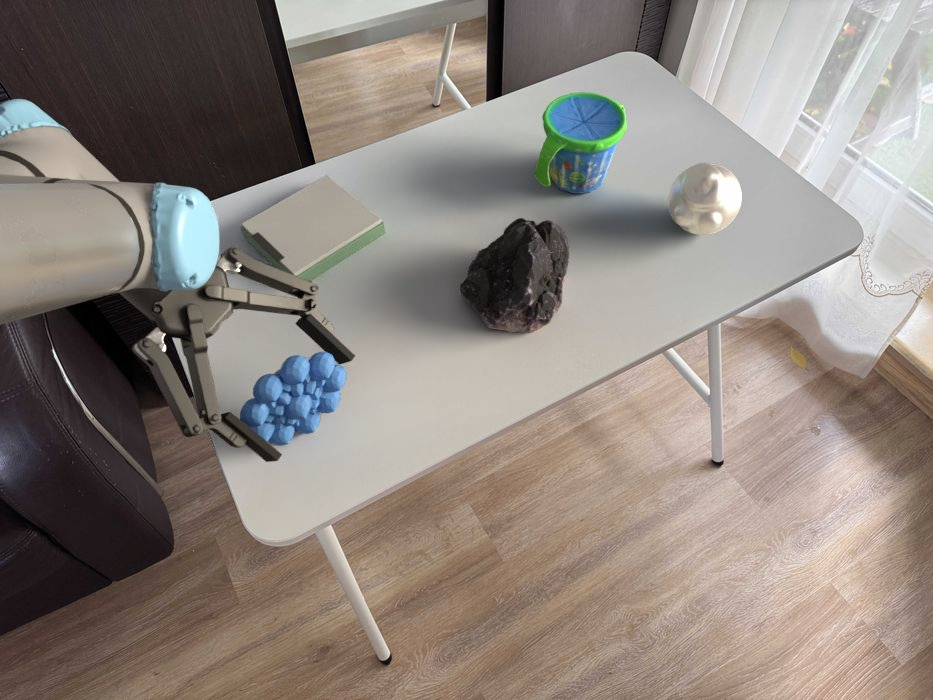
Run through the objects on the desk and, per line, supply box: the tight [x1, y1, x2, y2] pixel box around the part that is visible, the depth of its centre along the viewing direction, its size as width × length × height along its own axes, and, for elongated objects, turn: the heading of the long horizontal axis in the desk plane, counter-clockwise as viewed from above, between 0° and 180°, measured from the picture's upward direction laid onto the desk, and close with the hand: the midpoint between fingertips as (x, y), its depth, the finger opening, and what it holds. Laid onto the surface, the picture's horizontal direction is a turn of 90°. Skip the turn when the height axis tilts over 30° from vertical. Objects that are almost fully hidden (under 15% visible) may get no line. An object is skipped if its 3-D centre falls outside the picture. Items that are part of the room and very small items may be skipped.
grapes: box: [239, 351, 348, 447], centre depth 73 cm, size 12×7×12 cm, turn 122°
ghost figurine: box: [667, 162, 743, 236], centre depth 89 cm, size 9×10×10 cm
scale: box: [240, 174, 386, 282], centre depth 93 cm, size 14×13×3 cm
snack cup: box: [534, 91, 628, 195], centre depth 95 cm, size 16×10×10 cm
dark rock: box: [459, 217, 570, 334], centre depth 84 cm, size 13×14×10 cm
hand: (312, 407), depth 73 cm, fingers open, 12 cm apart
